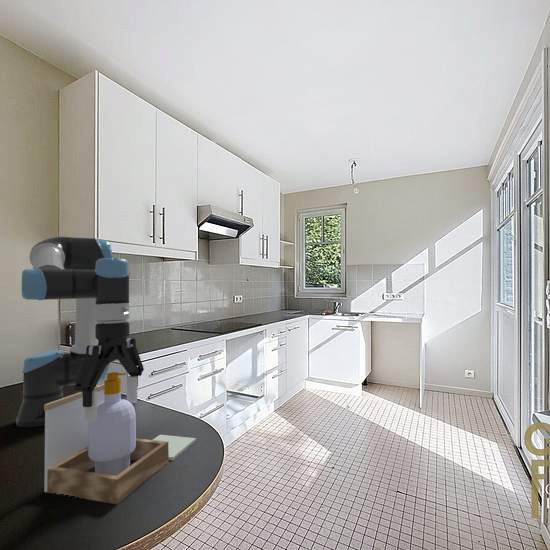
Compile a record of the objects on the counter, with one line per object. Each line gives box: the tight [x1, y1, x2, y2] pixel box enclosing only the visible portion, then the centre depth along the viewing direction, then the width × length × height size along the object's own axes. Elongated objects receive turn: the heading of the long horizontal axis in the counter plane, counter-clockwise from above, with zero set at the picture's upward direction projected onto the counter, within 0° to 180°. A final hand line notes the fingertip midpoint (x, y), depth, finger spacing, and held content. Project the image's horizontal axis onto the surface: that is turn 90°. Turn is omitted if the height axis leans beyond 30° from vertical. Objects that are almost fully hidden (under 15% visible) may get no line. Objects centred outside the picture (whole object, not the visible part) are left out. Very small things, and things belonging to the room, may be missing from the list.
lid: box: [43, 383, 104, 493], centre depth 86 cm, size 1×19×19 cm, turn 164°
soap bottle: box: [88, 371, 137, 476], centre depth 83 cm, size 10×10×24 cm
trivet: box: [152, 434, 197, 461], centre depth 97 cm, size 12×12×1 cm
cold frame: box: [47, 437, 170, 505], centre depth 83 cm, size 19×18×12 cm
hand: (112, 411), depth 83 cm, fingers open, 13 cm apart
